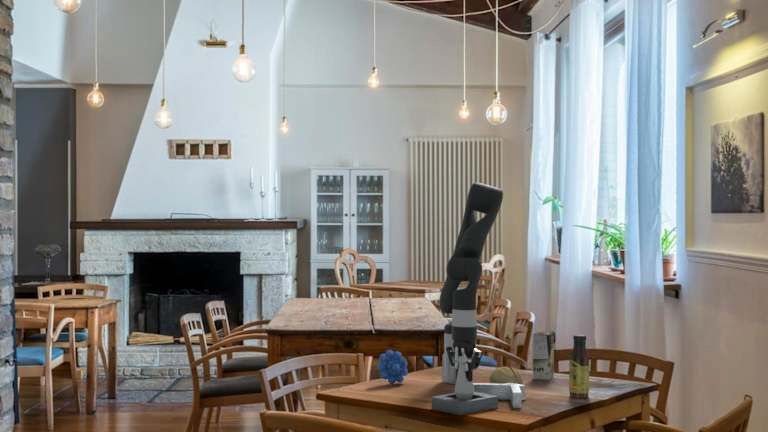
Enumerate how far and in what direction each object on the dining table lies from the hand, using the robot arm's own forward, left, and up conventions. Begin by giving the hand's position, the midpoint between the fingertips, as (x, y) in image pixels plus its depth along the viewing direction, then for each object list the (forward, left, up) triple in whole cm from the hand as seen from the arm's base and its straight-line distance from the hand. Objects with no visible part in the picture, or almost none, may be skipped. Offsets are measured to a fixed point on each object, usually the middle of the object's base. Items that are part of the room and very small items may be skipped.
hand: (464, 381), depth 249 cm
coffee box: (-19, +60, -8) cm, 63 cm away
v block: (0, +18, -8) cm, 20 cm away
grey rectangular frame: (0, 0, -8) cm, 8 cm away
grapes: (-43, +9, -8) cm, 44 cm away
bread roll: (-11, +31, -8) cm, 34 cm away
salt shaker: (0, 0, -5) cm, 5 cm away
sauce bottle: (+11, +41, -8) cm, 43 cm away
